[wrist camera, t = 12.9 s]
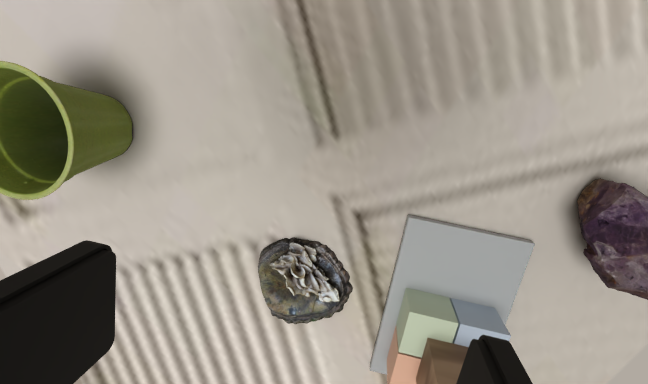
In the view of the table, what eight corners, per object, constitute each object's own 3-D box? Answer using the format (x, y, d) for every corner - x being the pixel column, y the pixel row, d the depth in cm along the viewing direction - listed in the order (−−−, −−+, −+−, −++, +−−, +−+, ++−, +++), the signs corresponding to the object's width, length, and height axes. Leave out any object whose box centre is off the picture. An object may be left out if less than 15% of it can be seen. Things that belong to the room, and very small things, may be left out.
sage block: (405, 287, 40) (409, 311, 35) (449, 297, 39) (458, 323, 35) (396, 323, 41) (398, 351, 37) (437, 333, 41) (445, 363, 36)
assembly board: (408, 214, 39) (408, 217, 38) (530, 240, 38) (534, 243, 37) (369, 364, 44) (369, 370, 43) (476, 391, 43) (478, 398, 42)
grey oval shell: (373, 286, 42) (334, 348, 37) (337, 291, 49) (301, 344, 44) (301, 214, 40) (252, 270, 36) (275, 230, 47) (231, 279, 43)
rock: (596, 160, 36) (536, 241, 39) (646, 166, 28) (566, 269, 30) (716, 219, 34) (644, 300, 37) (808, 244, 26) (707, 347, 28)
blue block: (450, 297, 39) (460, 324, 35) (495, 308, 39) (510, 335, 34) (439, 334, 41) (447, 364, 36) (482, 344, 40) (495, 376, 36)
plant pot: (167, 104, 40) (89, 105, 29) (133, 192, 43) (51, 223, 32) (76, 52, 40) (-37, 33, 29) (48, 144, 43) (-62, 158, 32)
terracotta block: (395, 325, 41) (398, 353, 37) (437, 335, 41) (445, 365, 36) (386, 359, 42) (387, 390, 38) (426, 369, 42) (433, 402, 37)
